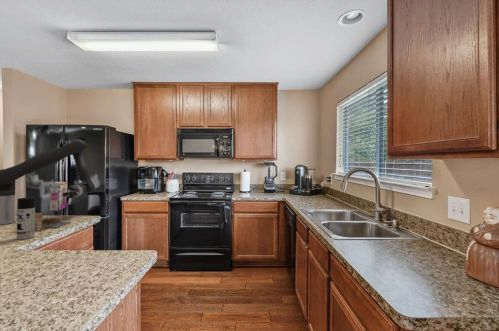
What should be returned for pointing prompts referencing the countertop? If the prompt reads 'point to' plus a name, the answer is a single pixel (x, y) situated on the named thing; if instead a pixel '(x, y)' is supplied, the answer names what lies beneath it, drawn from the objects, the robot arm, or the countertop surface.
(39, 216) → the cherry offcut
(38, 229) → the maple offcut
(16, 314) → the countertop surface
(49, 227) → the rubber mat
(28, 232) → the spray can
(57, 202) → the candy bar box
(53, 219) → the rack
